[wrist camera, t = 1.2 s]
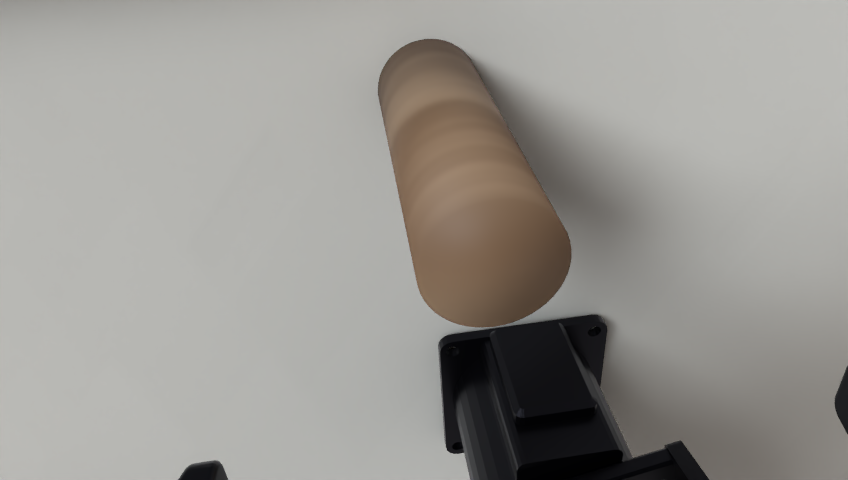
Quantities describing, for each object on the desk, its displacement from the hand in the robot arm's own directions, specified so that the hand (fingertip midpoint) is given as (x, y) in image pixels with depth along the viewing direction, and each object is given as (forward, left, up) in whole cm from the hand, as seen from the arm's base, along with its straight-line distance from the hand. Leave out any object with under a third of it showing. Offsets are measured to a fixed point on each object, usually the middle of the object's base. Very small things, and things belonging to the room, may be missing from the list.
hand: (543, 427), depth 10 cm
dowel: (0, 0, -13) cm, 13 cm away
